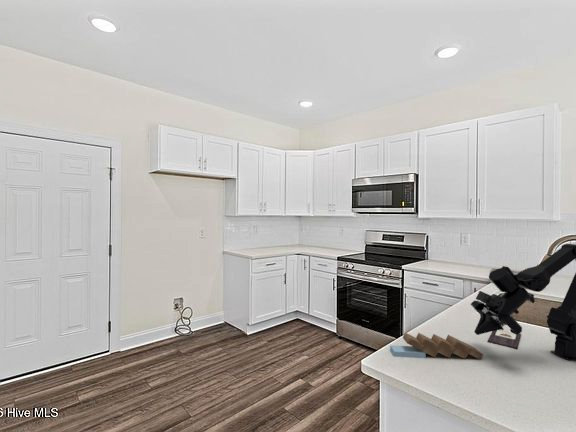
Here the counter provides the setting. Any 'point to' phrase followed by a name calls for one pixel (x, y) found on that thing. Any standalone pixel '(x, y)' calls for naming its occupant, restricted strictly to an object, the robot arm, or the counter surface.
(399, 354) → the domino
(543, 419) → the counter surface
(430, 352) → the domino
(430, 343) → the domino
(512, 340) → the chocolate bar
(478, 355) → the domino
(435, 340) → the domino
